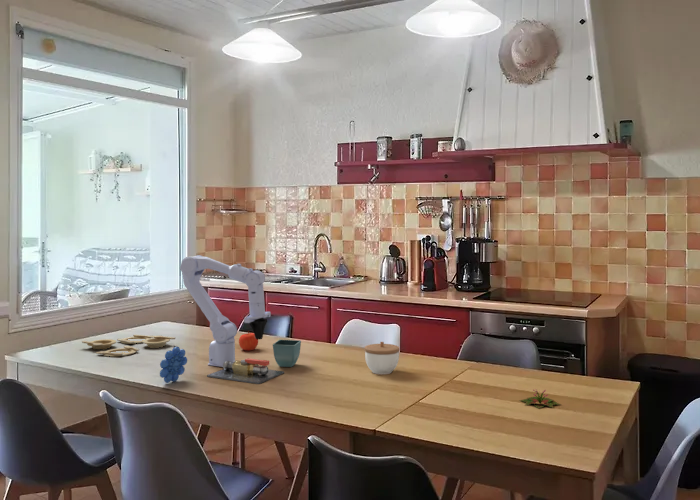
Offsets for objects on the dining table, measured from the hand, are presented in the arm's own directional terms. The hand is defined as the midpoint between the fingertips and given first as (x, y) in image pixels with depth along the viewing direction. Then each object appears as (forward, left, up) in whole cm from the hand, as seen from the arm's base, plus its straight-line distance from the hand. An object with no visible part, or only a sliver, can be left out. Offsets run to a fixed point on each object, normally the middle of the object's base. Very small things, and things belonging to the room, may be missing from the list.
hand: (259, 339), depth 235 cm
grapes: (-15, -30, -11) cm, 36 cm away
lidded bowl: (+45, +13, -11) cm, 48 cm away
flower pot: (+9, +6, -11) cm, 15 cm away
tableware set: (-70, +4, -11) cm, 71 cm away
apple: (-20, +22, -11) cm, 32 cm away
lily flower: (+103, 0, -11) cm, 103 cm away
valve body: (+3, -12, -10) cm, 16 cm away
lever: (+6, -12, -7) cm, 15 cm away
